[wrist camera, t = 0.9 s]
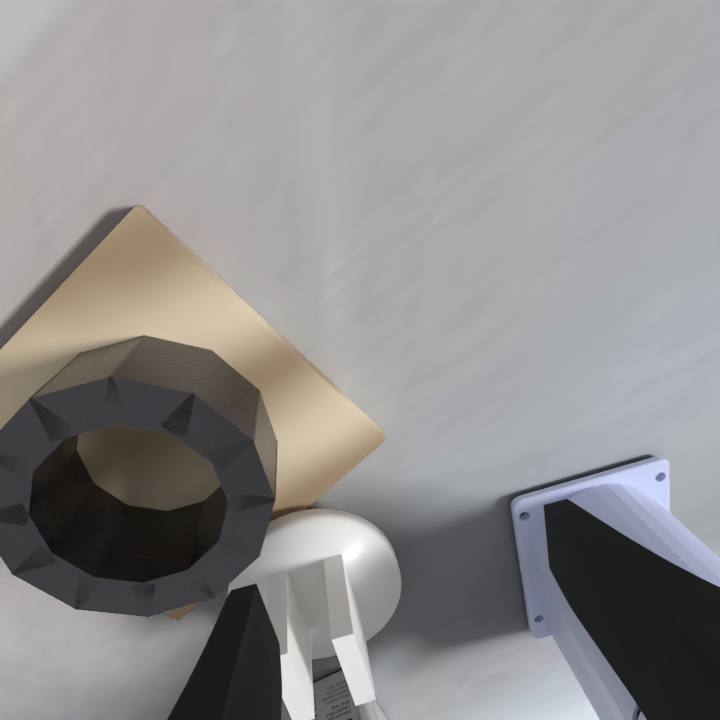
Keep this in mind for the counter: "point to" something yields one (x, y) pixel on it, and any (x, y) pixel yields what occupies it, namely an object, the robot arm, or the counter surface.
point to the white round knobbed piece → (324, 597)
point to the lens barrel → (112, 516)
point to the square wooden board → (191, 327)
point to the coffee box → (338, 702)
